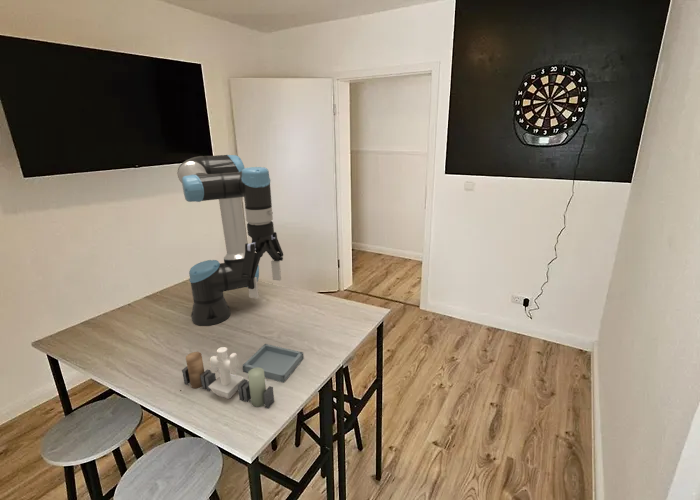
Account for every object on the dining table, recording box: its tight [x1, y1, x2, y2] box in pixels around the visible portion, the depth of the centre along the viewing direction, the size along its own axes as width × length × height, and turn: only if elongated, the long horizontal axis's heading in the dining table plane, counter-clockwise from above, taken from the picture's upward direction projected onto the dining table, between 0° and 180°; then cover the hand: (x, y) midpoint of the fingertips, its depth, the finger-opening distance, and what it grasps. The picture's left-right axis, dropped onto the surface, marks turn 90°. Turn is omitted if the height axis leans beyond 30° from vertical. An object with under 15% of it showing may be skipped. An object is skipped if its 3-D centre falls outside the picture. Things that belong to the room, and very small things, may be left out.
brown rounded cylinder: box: [185, 351, 205, 390], centre depth 111 cm, size 4×4×10 cm
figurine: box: [208, 346, 245, 400], centre depth 106 cm, size 7×9×15 cm
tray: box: [242, 343, 304, 383], centre depth 120 cm, size 15×13×2 cm
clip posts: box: [181, 365, 275, 409], centre depth 108 cm, size 30×3×5 cm, turn 69°
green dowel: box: [247, 368, 267, 408], centre depth 103 cm, size 4×4×10 cm
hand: (266, 288), depth 113 cm, fingers open, 13 cm apart
